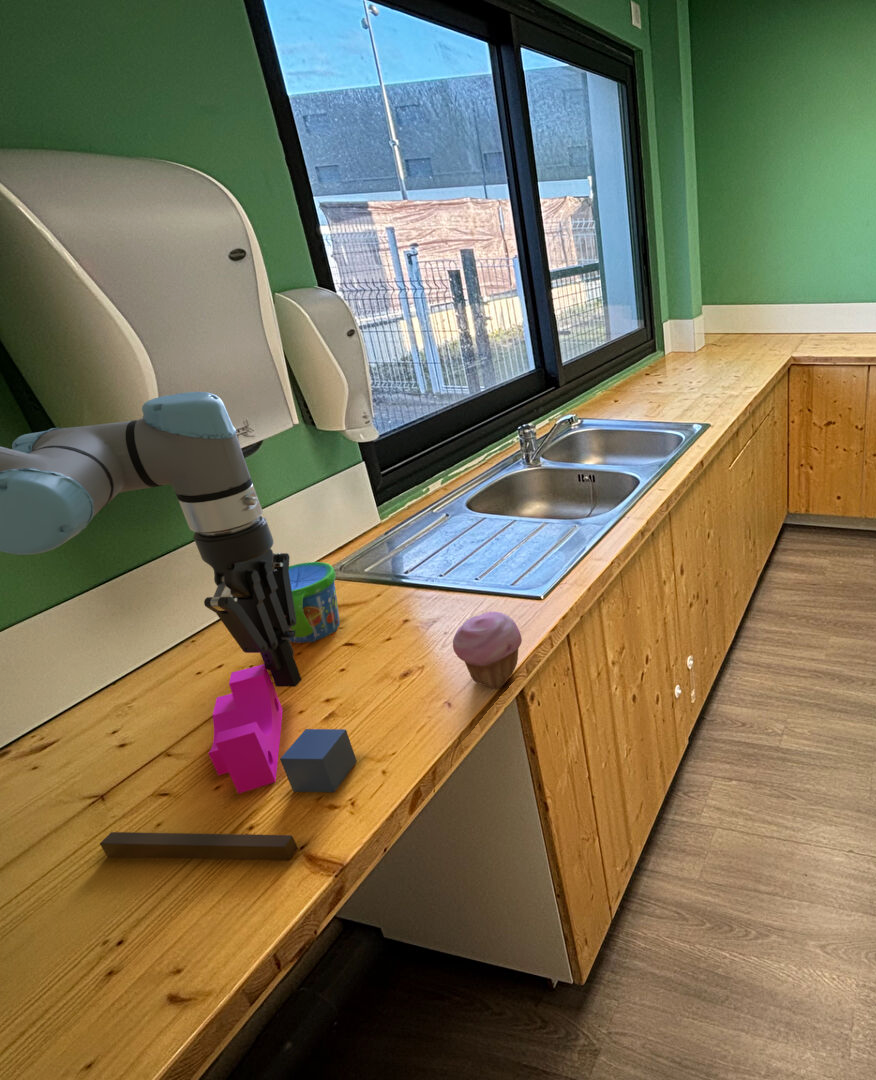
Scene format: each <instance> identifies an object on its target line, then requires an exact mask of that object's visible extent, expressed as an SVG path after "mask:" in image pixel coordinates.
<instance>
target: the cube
mask: <svg viewBox="0 0 876 1080" xmlns="http://www.w3.org/2000/svg"><path fill="white" fill-rule="evenodd" d="M279 761H280V763H281V765H282V768H283V770H284V772H285V773H284V774H285V776H286V778H287V780H288V783H289V785H290V788H291V790H292V792H293V793H335V792H336V791H337V790H338V788H339V787H340V786H341V784H342V783H343V781H344V780H345V779H346V777H347V776H348V775H349V773H350V771H351V770H352V769H353V768H354V766H355V765H356V763H357V762H358V760H357V758H356V754H355V752H354V749H353V745H352V743H351V740H350V737H349V734H348V731H347V729H346V728H341V729H340V728H305V729H304V730H303V732H302V733H301V734H300V735H299V736H298V737H297V738H296V740H295V741H294V742H293V743H292V744H291V745H290V747H289V748H288V749H287V750H286V751H285V753H283V754H282V756H281V757H280V758H279Z"/></svg>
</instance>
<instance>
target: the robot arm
mask: <svg viewBox="0 0 876 1080" xmlns="http://www.w3.org/2000/svg"><path fill="white" fill-rule="evenodd" d="M141 412H142V414H143V415H142V418H138V419H136V420H135V419H133V420H129V421H128V420H127V421H120V422H119V421H118V422H110V423H109V422H108V423H101V424H92V425H82V426H74V427H63V428H62V427H52V428H49V429H47V430H43V431H38V432H31V433H25V434H22V435H20V436H18V437H16V438H15V439H14V441H13V442H12V444H11V447H12V448H8V447H4V446H0V552H2V553H5V554H11V555H19V556H23V555H24V556H25V555H27V556H29V555H38V554H44V553H46V552H50V551H52V550H54V549H55V550H56V549H57V548H59V547H60V546H62V545H64V544H66V543H67V542H68V541H70V539H73V538H74V537H76V536H78V535H79V534H80V533H82V532H83V531H84V530H85V529H86V527H87V526H88V525H89V523H91V522H92V520H93V518H94V517H95V516H96V515H97V514H98V513H99V512H100V511H101V510H102V509H103V508H104V507H106V506H107V505H108V504H109V503H110V502H111V501H112V500H113V499H114V498H115V497H116V496H118V494H121V493H124V492H130V491H137V490H143V489H150V488H157V487H162V486H166V485H170V486H171V487H172V488H173V490H174V493H175V496H176V498H177V500H178V503H179V505H180V506H179V507H180V508H181V511H182V513H183V516H184V518H185V522H186V523H187V526H188V528H189V530H190V531H192V532H194V534H193V540H194V542H195V545H196V547H197V550H198V552H199V556H200V558H201V559H202V561H203V562H204V563H205V564H207V565H209V566H210V567H211V568H212V569H213V576H214V577H213V580H214V581H213V582H214V583H215V585H216V586H217V587H216V589H215V592H214V595H213V596H207V597H206V598H204V600H203V604H204V607H206V608H207V609H208V610H211V611H212V612H213V613H215V614H216V615H217V617H218V618H219V620H220V621H221V622H222V624H223V625H224V626H225V628H226V630H227V631H228V632H229V634H230V635H231V636H232V638H233V639H234V641H235V642H236V644H237V645H238V646H239V648H240V649H241V650H242V652H243V653H246V654H255V653H256V654H260V657H261V658H262V662H263V664H265V667H266V669H267V670H268V671H269V672H270V675H271V679H272V680H273V682H274V683H273V684H274V686H275V687H276V688H277V687H278V688H279V687H282V688H291V687H292V688H293V687H295V688H296V687H297V686H298V685H299V683H301V681H302V677H301V674H300V671H299V669H298V668H299V667H298V665H297V663H296V660H295V657H294V655H295V654H294V648H293V646H292V642H291V641H290V640H289V638H293V637H294V636H295V630H294V631H290V630H289V629H290V627H291V626H295V624H296V614H295V608H294V602H293V596H292V589H291V583H290V577H289V566H290V560H291V559H290V554H289V553H287V552H284V553H283V552H276V553H275V552H274V551H273V549H272V547H273V545H274V537H273V536H272V533H271V530H270V526H269V523H268V521H267V519H266V518H265V517H263V516H262V514H263V513H264V511H263V508H262V505H261V502H260V500H259V497H258V495H257V492H256V488H255V487H254V483H253V480H252V477H251V473H250V472H249V468H248V464H247V463H246V459H245V456H244V454H243V450H242V447H241V443H240V440H239V437H238V434H237V433H238V431H237V429H236V427H235V426H234V424H233V422H232V420H231V418H230V415H229V413H228V411H227V409H226V406H225V404H224V401H223V400H222V399H221V398H220V396H218V395H216V394H215V393H212V392H207V391H188V392H180V393H175V394H171V395H161V396H158V397H155V398H151V399H150V400H147V401H145V402H144V403H143V404H142V407H141ZM284 615H286V617H285V616H284Z"/></svg>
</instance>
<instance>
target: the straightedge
mask: <svg viewBox="0 0 876 1080" xmlns="http://www.w3.org/2000/svg"><path fill="white" fill-rule="evenodd" d="M99 845H100V847H101V848H102V850H103V852H104V854H105V856H106V857H107V858H142V859H143V858H149V859H151V858H153V859H196V860H199V859H200V860H203V859H205V860H244V861H245V860H246V861H247V860H248V861H249V860H250V861H251V860H253V861H255V860H256V861H290V860H291V859H292V858H293V856H294V855H295V854H296V852H297V851H298V849H299V848H298V846H297V843H296V841H295V839H294V836H293V835H292V834H248V833H247V834H246V833H245V834H244V833H243V834H242V833H241V834H239V833H238V834H237V833H191V832H190V833H185V832H184V833H183V832H182V833H181V832H127V831H125V832H124V831H123V832H122V831H114V832H113V831H111V832H109V833H108V835H106V836H105V838H103V840H102V841H100V842H99Z"/></svg>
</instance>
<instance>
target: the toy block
mask: <svg viewBox="0 0 876 1080" xmlns="http://www.w3.org/2000/svg"><path fill="white" fill-rule="evenodd" d="M270 675H271V674H270V673H269V670H267V669H266V667H265V664H264V663H263V664H258V665H255V666H252V667H247V668H243V669H240V670H236V671H232V672H231V674H230V678H229V682H228V684H229V688H230V691H231V693H228V694H224V695H221V696H217V697H216V699H215V704H214V707H213V712H212V723H213V740H212V745H211V746H212V747H211V748H210V750H209V751H208V752H207V754H208V756H209V759H210V760H211V763H212V765H213V767H214V769H215V771H216V774H217V775H218V776H221V775H225V774H229V776H230V778H231V780H232V783H233V785H234V787H235V789H236V792H237V794H242V793H246V792H248V791H252V790H254V789H258V788H261V787H264V786H268V785H271V784H273V783H274V784H275V783H276V781H277V771H278V762H279V760H278V759H279V751H280V742H281V731H282V722H283V712H284V708H283V707H282V703H281V701H280V699H279V696H278V694H277V690H276V688H275V685H274V683H273V681H272V677H271V676H270Z"/></svg>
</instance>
